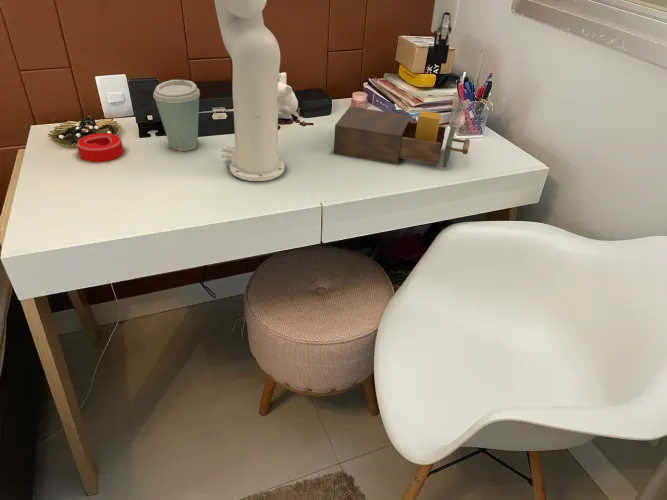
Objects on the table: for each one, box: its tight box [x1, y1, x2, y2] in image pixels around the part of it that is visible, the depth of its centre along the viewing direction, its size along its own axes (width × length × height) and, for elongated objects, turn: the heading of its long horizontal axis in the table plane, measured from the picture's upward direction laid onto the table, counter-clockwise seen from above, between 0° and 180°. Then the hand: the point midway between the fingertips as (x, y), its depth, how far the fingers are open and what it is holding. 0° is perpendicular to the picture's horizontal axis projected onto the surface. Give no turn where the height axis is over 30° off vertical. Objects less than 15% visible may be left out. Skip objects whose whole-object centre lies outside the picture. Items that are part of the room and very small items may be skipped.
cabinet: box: [333, 105, 412, 165], centre depth 134 cm, size 16×14×7 cm
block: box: [415, 110, 442, 142], centre depth 130 cm, size 5×4×9 cm
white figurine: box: [278, 72, 299, 120], centre depth 147 cm, size 8×7×12 cm
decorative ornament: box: [76, 132, 124, 163], centre depth 124 cm, size 10×10×3 cm
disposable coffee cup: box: [152, 79, 201, 152], centre depth 126 cm, size 11×11×15 cm
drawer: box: [399, 120, 471, 169], centre depth 131 cm, size 20×13×6 cm
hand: (439, 57), depth 122 cm, fingers open, 9 cm apart
